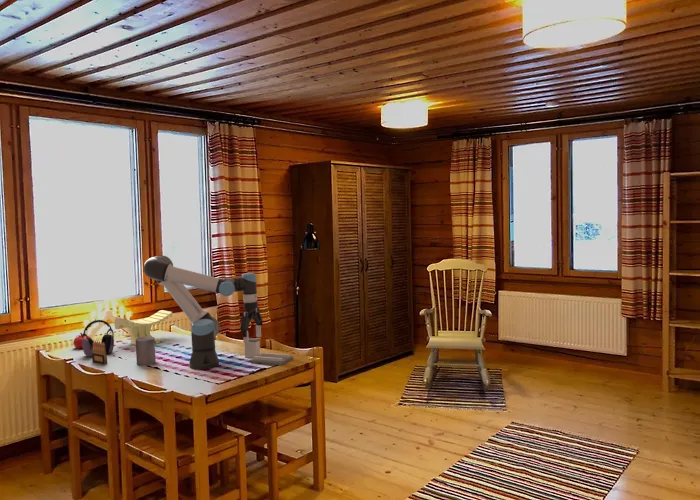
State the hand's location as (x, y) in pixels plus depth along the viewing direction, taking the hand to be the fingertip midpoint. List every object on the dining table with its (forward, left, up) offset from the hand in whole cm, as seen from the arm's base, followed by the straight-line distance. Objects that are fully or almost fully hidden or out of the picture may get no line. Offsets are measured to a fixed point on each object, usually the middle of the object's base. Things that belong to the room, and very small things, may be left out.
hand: (252, 339), depth 318 cm
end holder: (-4, -14, -10) cm, 17 cm away
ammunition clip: (-32, +76, -10) cm, 83 cm away
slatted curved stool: (+15, +85, -10) cm, 87 cm away
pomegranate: (-6, +114, -10) cm, 115 cm away
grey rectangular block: (0, 0, -10) cm, 10 cm away
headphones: (-17, +91, -10) cm, 93 cm away
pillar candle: (-26, +50, -10) cm, 58 cm away
